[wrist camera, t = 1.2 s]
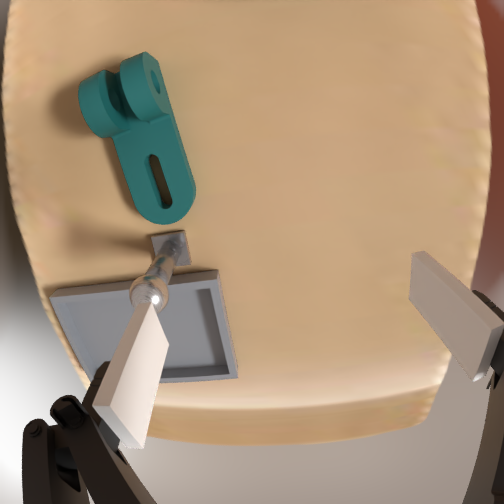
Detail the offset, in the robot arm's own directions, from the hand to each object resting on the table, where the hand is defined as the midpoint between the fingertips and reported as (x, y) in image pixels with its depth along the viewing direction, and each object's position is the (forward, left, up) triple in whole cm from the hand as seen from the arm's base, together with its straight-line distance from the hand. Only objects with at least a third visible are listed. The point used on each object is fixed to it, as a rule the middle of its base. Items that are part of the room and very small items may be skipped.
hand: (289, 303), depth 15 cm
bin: (+16, -18, -21) cm, 32 cm away
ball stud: (+4, -11, -21) cm, 24 cm away
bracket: (-8, -11, -22) cm, 26 cm away
